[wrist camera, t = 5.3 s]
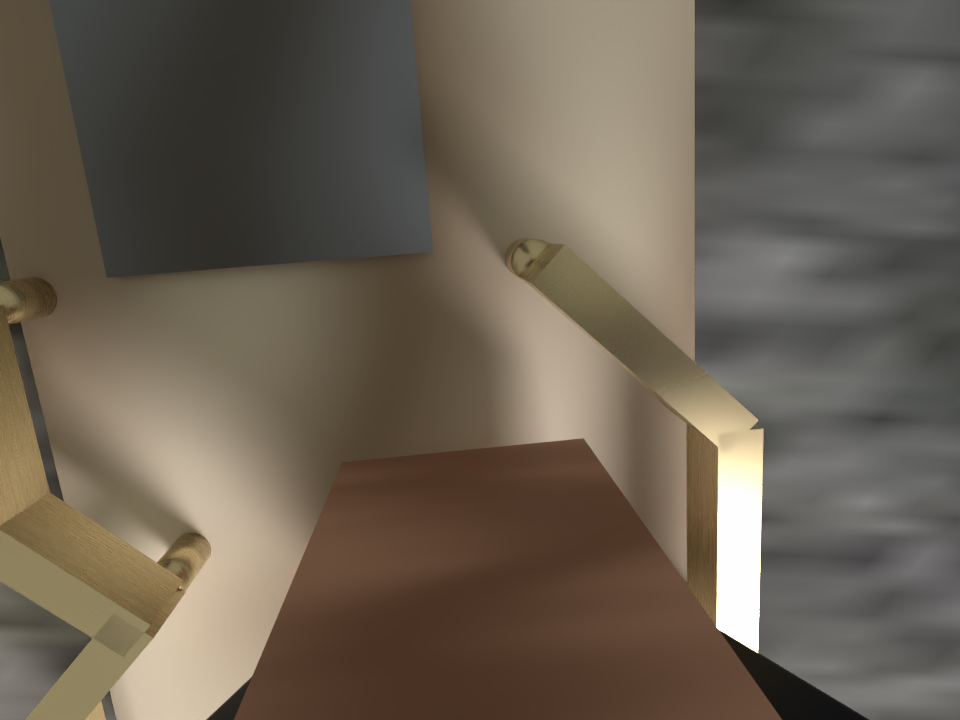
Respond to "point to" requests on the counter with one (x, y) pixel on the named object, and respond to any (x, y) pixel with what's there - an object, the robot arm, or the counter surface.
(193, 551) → the bent wooden frame
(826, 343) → the counter surface
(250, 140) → the beige board
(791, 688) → the robot arm
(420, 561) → the block
